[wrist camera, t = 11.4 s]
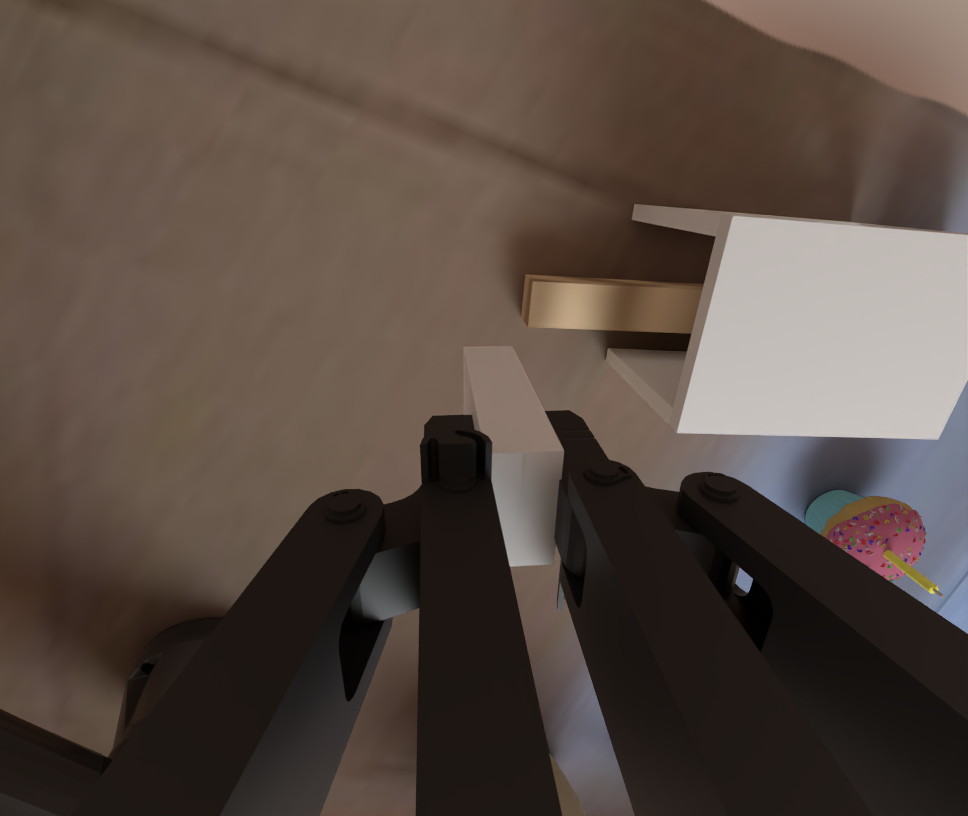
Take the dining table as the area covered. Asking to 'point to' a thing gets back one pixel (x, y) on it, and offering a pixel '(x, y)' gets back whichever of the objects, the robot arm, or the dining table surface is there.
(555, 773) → the plant pot
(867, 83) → the dining table surface
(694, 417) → the tunnel
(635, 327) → the rod
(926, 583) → the cupcake
